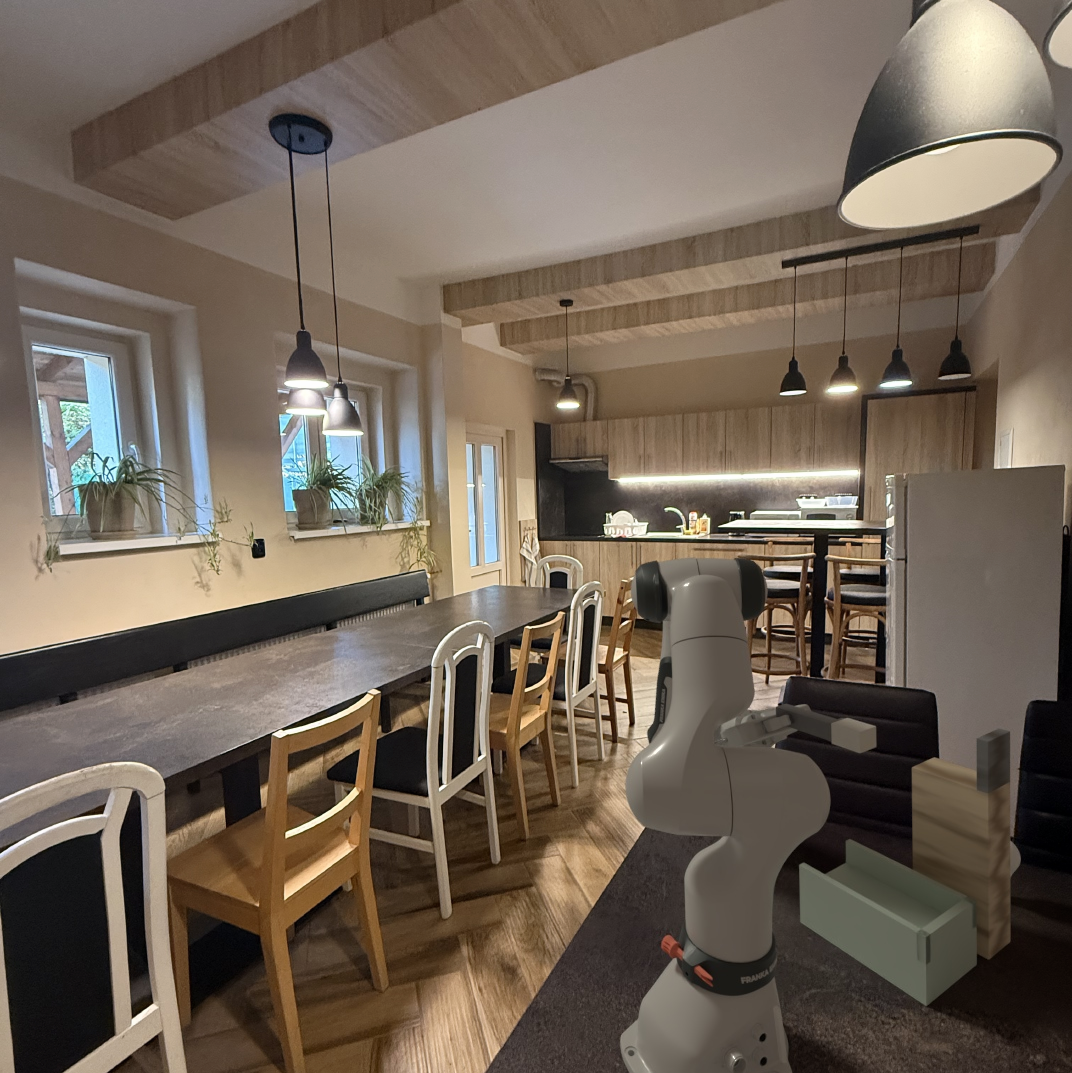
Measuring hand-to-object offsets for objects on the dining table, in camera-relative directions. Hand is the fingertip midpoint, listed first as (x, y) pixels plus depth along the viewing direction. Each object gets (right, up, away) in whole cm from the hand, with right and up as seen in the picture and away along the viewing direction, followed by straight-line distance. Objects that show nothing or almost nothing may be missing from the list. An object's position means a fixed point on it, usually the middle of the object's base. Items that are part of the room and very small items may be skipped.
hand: (798, 716), depth 109 cm
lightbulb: (+33, -31, -4) cm, 45 cm away
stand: (+21, -31, -12) cm, 40 cm away
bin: (+8, -32, -14) cm, 36 cm away
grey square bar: (+2, -2, -4) cm, 5 cm away
